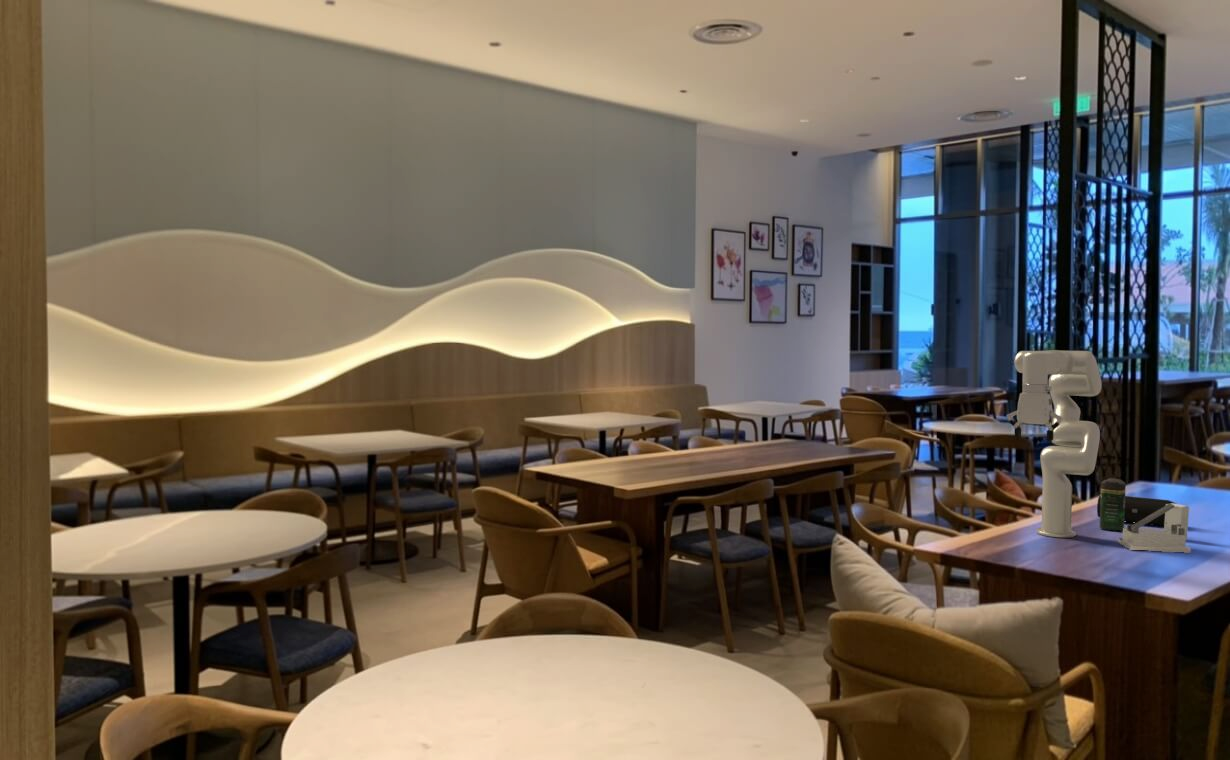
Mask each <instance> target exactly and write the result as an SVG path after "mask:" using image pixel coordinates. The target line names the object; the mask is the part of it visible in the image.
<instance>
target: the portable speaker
mask: <svg viewBox="0 0 1230 760" xmlns="http://www.w3.org/2000/svg"><path fill="white" fill-rule="evenodd" d="M1100 503H1101V495H1099V496H1098V499H1097V504H1096V505H1097V507H1096V513H1097V517H1098V518H1100ZM1169 503H1170V504H1171V503H1174V504H1177V503H1176V502H1174V501H1171V500H1169V499H1162V498H1161V499H1160V498H1150V497H1149V498H1148V497H1141V496H1140V497H1139V496H1130V495H1129V496H1128V495H1125V516H1124V521H1126V522H1135V523H1137V522H1139V521H1140V520H1142V519H1144V518H1146V517H1147V516H1149V515H1151V514H1152V513H1154V512H1156V511H1157V510H1159V509H1161V508H1163V507H1164V506H1166V504H1169ZM1126 522H1125V523H1126ZM1135 523H1134V524H1135ZM1164 523H1165V513H1164V514H1162V515H1160V516H1159V517H1157V518H1155V519H1153V520H1152V521H1150V522H1148V523H1147V524H1153V525H1161V526H1160V527H1162V526H1164ZM1153 525H1152V526H1153Z"/></svg>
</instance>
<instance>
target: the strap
mask: <svg viewBox="0 0 1230 760" xmlns="http://www.w3.org/2000/svg"><path fill="white" fill-rule="evenodd" d="M1174 507H1175V506H1174V505H1172V504H1170V503H1169V504H1168V505H1166V506H1164V507H1163V508H1161V509H1159V510H1157V511H1156V512H1154V513H1152V514H1151V515H1149V516H1147V517H1146V518H1144V519H1142V520H1140V521H1139V522H1137V523H1133V524H1131V525H1132V526H1129V528H1130V529H1131V530H1132V527H1137V528H1141V527H1144V526H1145V524H1147V523H1148V522H1150V521H1152V520H1153V519H1155V518H1157V517H1159V516H1160V515H1162V514H1164V513H1165V512H1167V511H1169V510H1170V509H1172V508H1174Z"/></svg>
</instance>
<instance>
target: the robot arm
mask: <svg viewBox="0 0 1230 760" xmlns="http://www.w3.org/2000/svg"><path fill="white" fill-rule="evenodd" d="M1013 363H1014V368H1015V370H1016V371H1017V372H1018V373H1020V374H1022V384H1021V385H1022V392H1020V393H1019V396H1018V401H1017V410H1015V411H1012V412H1010V413H1007V414H1006V418H1007V420H1008V422H1009V424H1010V425H1011V426H1012V427H1013V428H1014V438H1015V440H1016V441H1017V442H1018V441H1021V440H1022V428H1021V426H1022V425H1023V424H1030V425H1044V426H1045V427H1046V428H1047V430H1046V444H1047V443H1048V444H1050V443H1052V444H1053V445H1048V446H1046V447H1044V448H1042V450H1041V451H1040V456H1039V457H1040V459H1039V460H1040V466H1041V473H1042V475H1041V476H1042V495H1041V497H1042V498H1041V527H1039V528H1037V529H1036V533H1037V534H1039V535H1041V536H1045V537H1051V538H1065V539H1066V538H1074V536H1075V537H1076V535H1077V532H1076V531H1074V530H1072V507H1073V484H1072V482H1071V481H1070V479H1069V477H1067V475H1077V476H1078V475H1079V476H1089V475H1091V474H1093V472H1094V471H1095V467H1096V464H1097V457H1098V451H1099V446H1100V440H1101V439H1100V437H1101V432H1100V431H1101V430H1100V428H1099V425H1098V424H1097V423H1096V422H1093V421H1089V420H1080V416H1081V408H1080V407H1079V406H1078V404H1077V403H1076V402H1075V401H1074V400H1073V399H1072V398H1071V397H1072V396H1077V397H1078V396H1079V397H1096V396H1097V395H1099V394H1100V393H1101V391H1102V388H1103V387H1102V384H1103V383H1102V378H1101V375H1100V374H1101V373H1100V370H1099V365H1098V363H1097V360H1096V357H1095V355H1094V354H1093V353H1092V352H1091V351H1088V350H1058V349H1056V350H1055V349H1050V350H1047V349H1046V350H1020V351H1018V353H1016V355H1015V357H1014V361H1013ZM1049 375H1050V376H1049ZM1048 377H1049V378H1048ZM1052 403H1053V404H1052ZM1053 409H1054V410H1053ZM1014 416H1016V420H1017V421H1016V420H1014Z"/></svg>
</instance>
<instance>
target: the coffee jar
mask: <svg viewBox="0 0 1230 760" xmlns="http://www.w3.org/2000/svg"><path fill="white" fill-rule="evenodd" d="M1126 487H1127V486H1126V482H1124V480H1122V479H1119V478H1114V477H1113V478H1111V477H1110V478H1107V479H1104V480H1103V481H1101V485H1100V496H1101V503H1100V517H1099V529H1101V528H1102V529H1101V530H1106V529H1108V530H1114V531H1117V530H1121V531H1123V528H1125V522H1124V516H1125V496H1126ZM1108 530H1107V531H1108Z"/></svg>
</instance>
